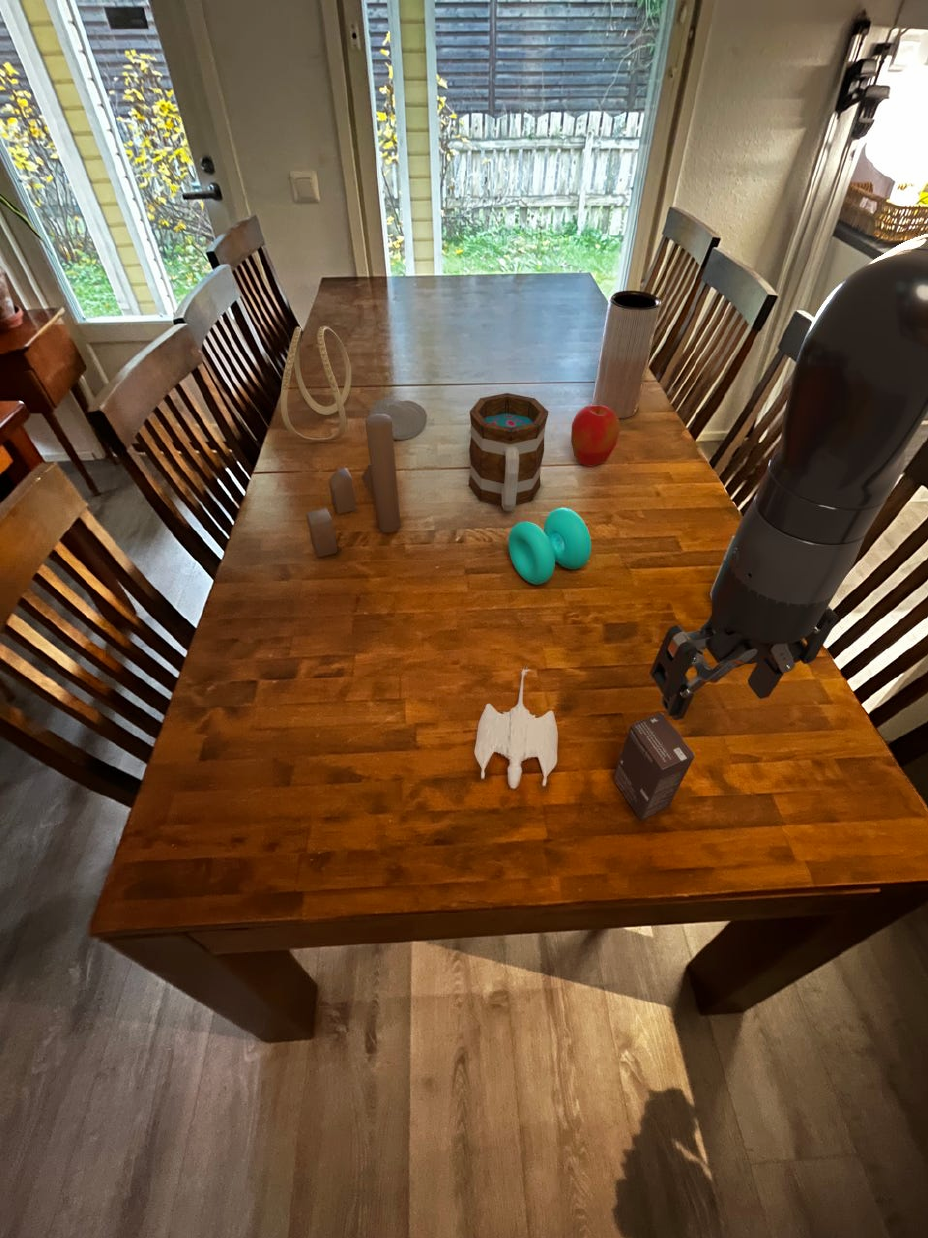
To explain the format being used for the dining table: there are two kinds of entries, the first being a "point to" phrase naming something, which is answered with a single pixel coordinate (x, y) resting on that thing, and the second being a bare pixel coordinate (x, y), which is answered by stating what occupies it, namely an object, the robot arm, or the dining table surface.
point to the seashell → (402, 416)
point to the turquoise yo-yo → (549, 545)
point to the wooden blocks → (376, 479)
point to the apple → (594, 434)
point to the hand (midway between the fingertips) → (715, 701)
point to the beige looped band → (294, 355)
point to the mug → (506, 449)
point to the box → (652, 765)
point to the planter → (625, 350)
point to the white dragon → (517, 738)
